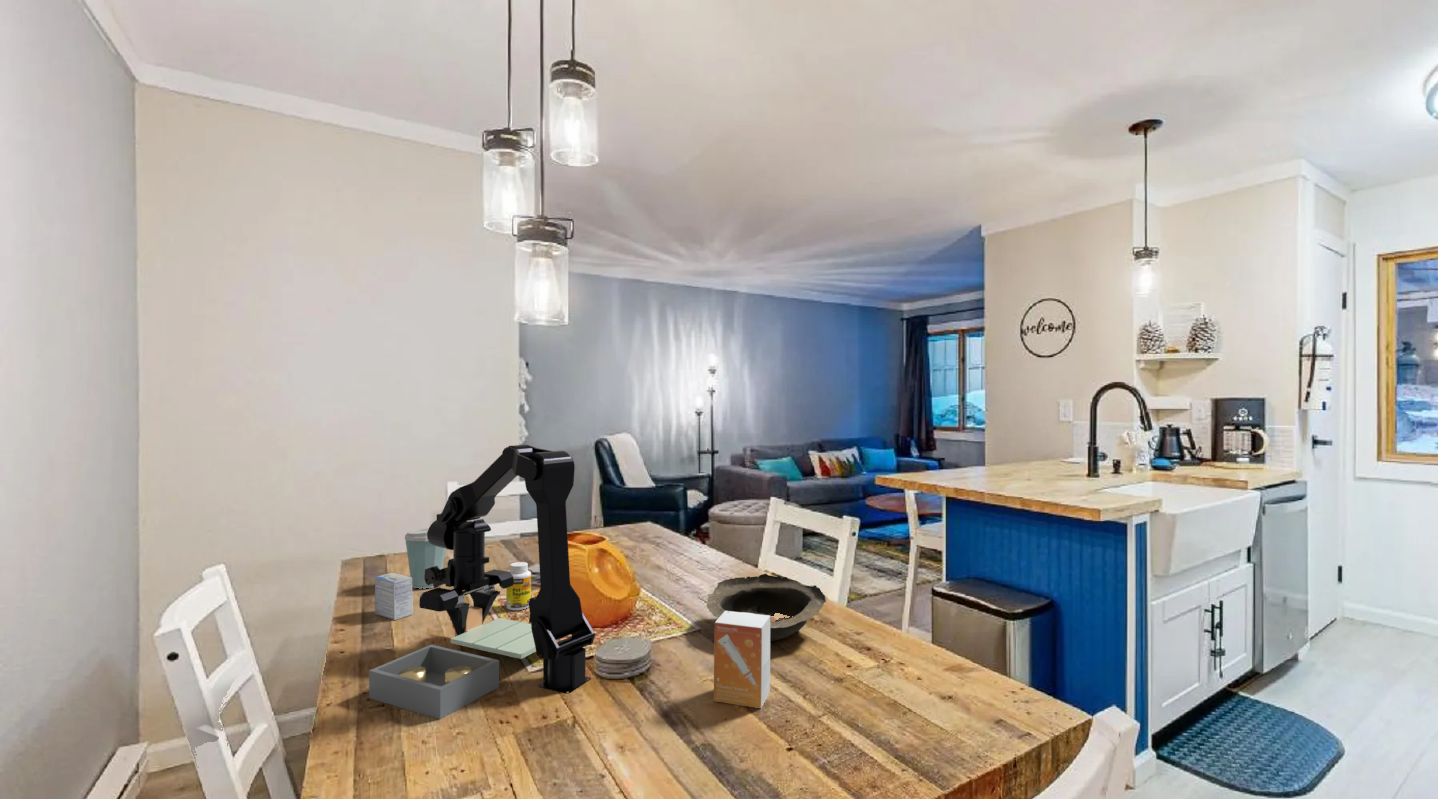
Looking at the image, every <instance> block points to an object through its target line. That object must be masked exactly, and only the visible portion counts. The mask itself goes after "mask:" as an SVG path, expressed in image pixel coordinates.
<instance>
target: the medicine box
mask: <svg viewBox="0 0 1438 799" xmlns="http://www.w3.org/2000/svg"><path fill="white" fill-rule="evenodd" d="M374 610H375V611H374V613H375V615H376V616H377V615H378V616H380V617H384V618H388V619H390V620H393V621H396V620H400V619H404V618H406V617H410V616H412V615H413V614H414V613H413V611H414V609H413V585H412V578H411V577H410V576H407V575H404V574H399V573H394V572H389V573H385V574H382V575H378V576H375V578H374Z"/></svg>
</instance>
